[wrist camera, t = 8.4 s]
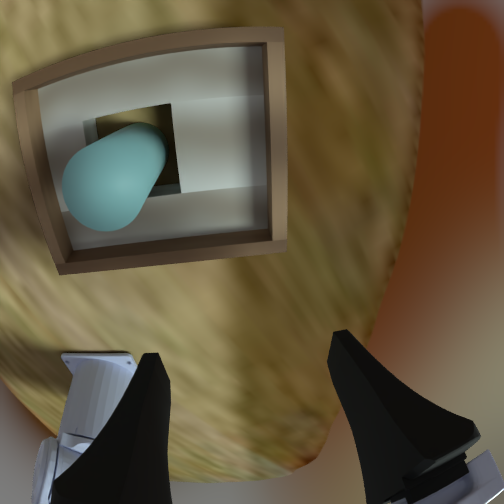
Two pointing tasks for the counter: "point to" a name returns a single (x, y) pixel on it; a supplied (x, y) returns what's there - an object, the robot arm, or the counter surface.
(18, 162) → the counter surface
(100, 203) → the peg
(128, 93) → the box
